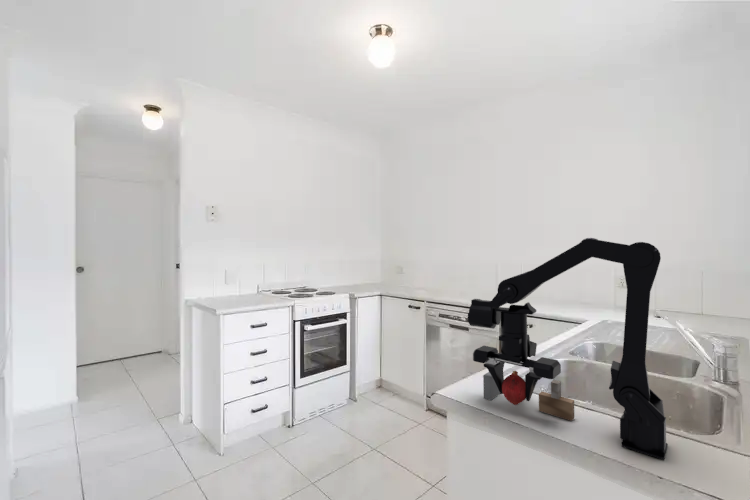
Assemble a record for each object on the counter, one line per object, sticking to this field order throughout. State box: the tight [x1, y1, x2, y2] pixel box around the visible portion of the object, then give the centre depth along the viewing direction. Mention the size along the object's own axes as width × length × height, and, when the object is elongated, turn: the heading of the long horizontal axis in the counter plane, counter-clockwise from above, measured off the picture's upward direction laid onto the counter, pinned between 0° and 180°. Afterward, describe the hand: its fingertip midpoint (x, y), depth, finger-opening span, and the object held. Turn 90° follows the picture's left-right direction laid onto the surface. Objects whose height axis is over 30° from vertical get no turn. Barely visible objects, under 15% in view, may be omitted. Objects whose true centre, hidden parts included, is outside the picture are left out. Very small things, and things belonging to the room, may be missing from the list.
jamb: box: [482, 371, 502, 401], centre depth 92 cm, size 2×6×6 cm, turn 136°
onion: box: [502, 370, 526, 406], centre depth 82 cm, size 6×6×8 cm
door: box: [538, 379, 575, 422], centre depth 81 cm, size 7×2×8 cm, turn 46°
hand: (514, 397), depth 82 cm, fingers closed on onion, 6 cm apart
